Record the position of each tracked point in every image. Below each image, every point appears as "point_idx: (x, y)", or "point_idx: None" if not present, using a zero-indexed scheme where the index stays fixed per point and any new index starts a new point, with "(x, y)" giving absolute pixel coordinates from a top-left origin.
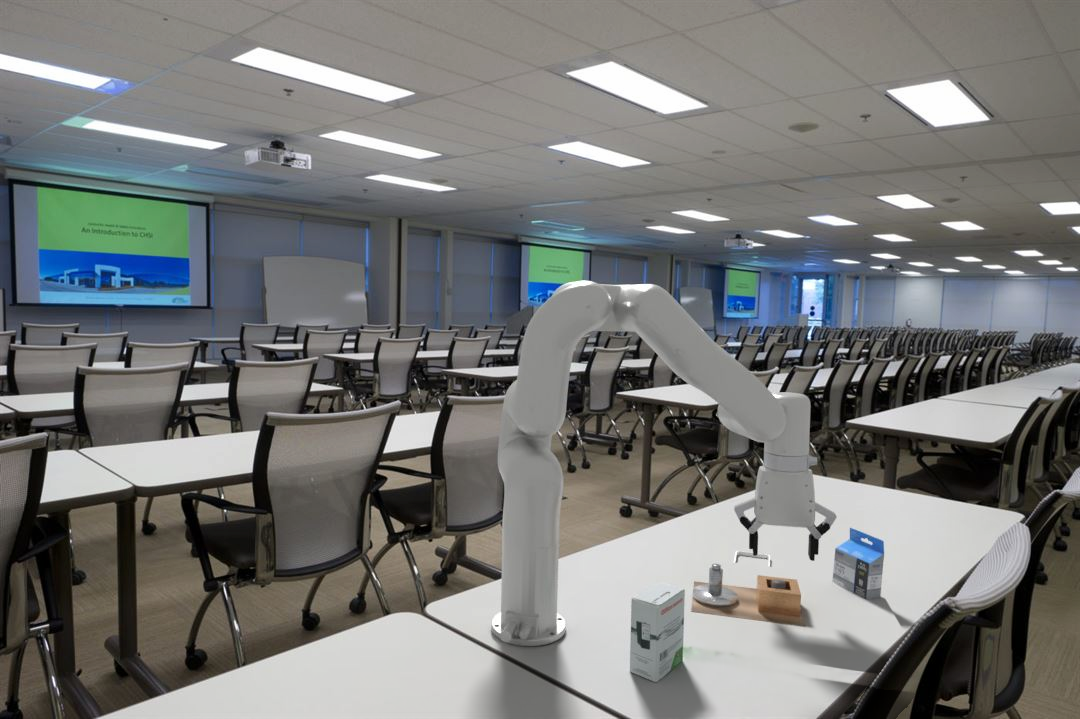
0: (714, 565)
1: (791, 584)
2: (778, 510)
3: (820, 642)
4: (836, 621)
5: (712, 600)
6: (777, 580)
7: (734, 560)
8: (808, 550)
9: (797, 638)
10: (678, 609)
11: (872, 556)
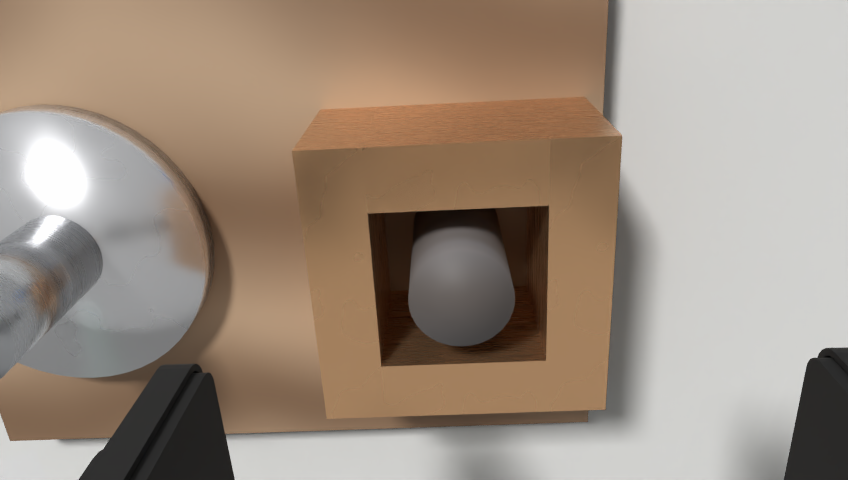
0: None
1: (561, 253)
2: None
3: (640, 439)
4: (792, 186)
5: (75, 365)
6: (454, 273)
7: None
8: (834, 397)
9: (538, 435)
10: None
11: None
